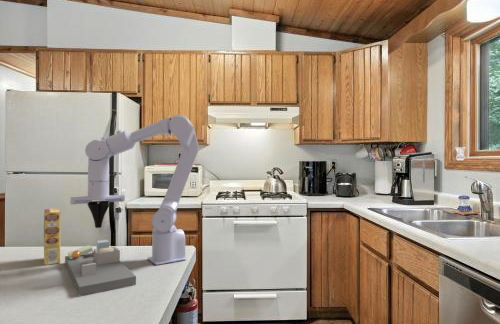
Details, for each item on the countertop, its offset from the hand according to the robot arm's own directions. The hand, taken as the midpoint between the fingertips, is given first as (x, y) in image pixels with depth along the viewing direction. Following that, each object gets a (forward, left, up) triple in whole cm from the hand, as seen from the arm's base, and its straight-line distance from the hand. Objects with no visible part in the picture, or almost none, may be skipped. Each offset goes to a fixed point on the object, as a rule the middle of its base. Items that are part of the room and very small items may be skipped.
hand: (98, 227), depth 95 cm
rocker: (+5, -1, -7) cm, 8 cm away
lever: (+5, +15, -7) cm, 17 cm away
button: (-1, +7, -8) cm, 11 cm away
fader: (-1, -1, -8) cm, 8 cm away
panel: (+2, +10, -10) cm, 15 cm away
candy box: (+11, -10, -11) cm, 18 cm away
